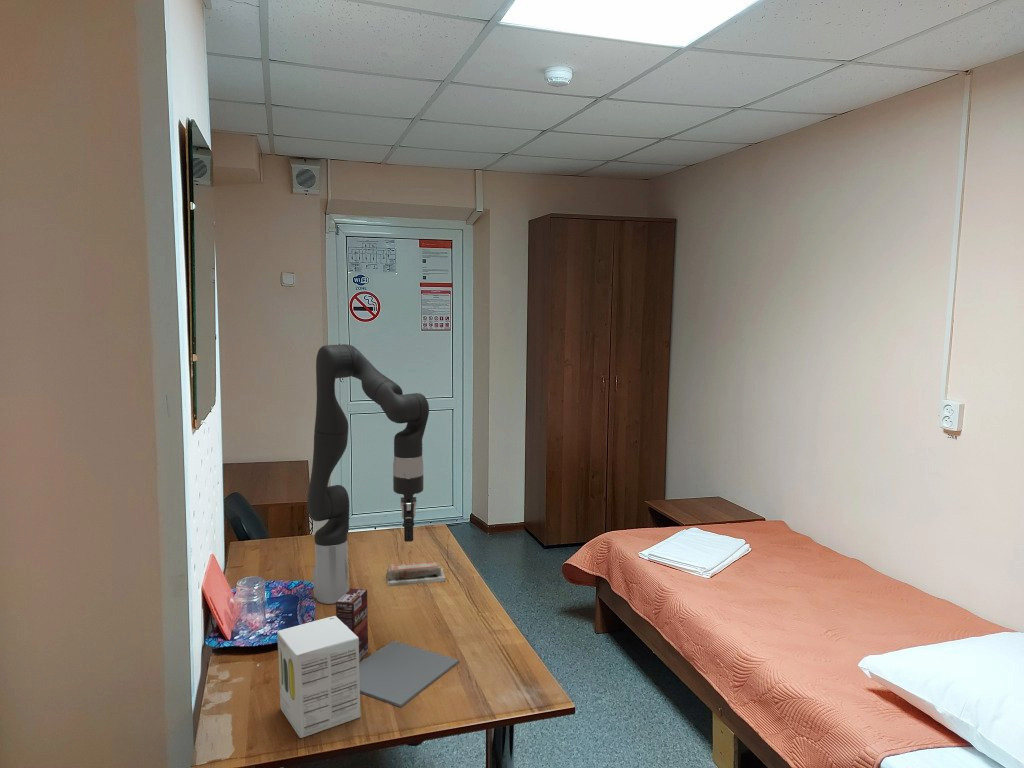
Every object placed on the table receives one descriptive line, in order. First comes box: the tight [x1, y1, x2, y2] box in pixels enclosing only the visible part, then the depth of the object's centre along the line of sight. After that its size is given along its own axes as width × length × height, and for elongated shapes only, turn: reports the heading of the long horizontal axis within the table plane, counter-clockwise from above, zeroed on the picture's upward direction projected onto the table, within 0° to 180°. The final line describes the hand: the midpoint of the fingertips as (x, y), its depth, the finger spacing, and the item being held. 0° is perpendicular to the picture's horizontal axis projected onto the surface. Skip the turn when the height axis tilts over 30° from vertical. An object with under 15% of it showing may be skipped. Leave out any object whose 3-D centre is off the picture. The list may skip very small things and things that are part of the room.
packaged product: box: [386, 561, 446, 587], centre depth 221 cm, size 18×5×10 cm
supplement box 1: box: [276, 615, 362, 739], centre depth 146 cm, size 13×13×18 cm
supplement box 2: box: [335, 588, 369, 662], centre depth 170 cm, size 9×5×16 cm, turn 168°
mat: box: [359, 640, 460, 708], centre depth 164 cm, size 20×22×1 cm
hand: (408, 535), depth 178 cm, fingers open, 8 cm apart
